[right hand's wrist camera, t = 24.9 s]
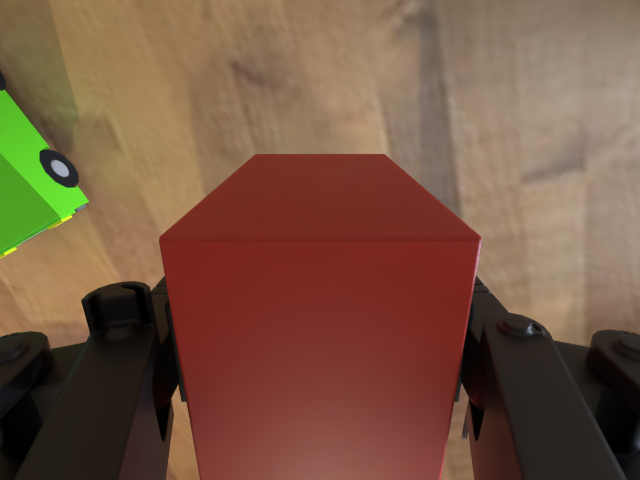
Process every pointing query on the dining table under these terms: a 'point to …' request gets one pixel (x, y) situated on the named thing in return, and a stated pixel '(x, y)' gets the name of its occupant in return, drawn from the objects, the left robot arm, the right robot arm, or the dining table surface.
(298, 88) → the dining table surface
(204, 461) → the block
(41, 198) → the toy car
